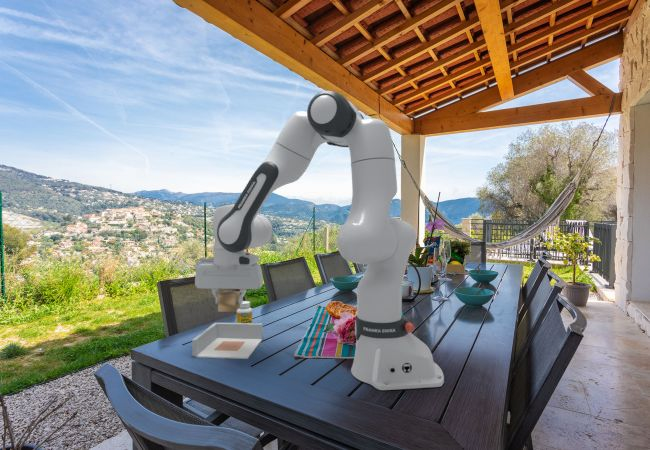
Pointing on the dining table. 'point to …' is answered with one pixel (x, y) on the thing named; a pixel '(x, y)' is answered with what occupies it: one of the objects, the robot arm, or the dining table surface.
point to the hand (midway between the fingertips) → (229, 303)
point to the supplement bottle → (244, 313)
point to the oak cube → (228, 301)
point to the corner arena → (228, 340)
